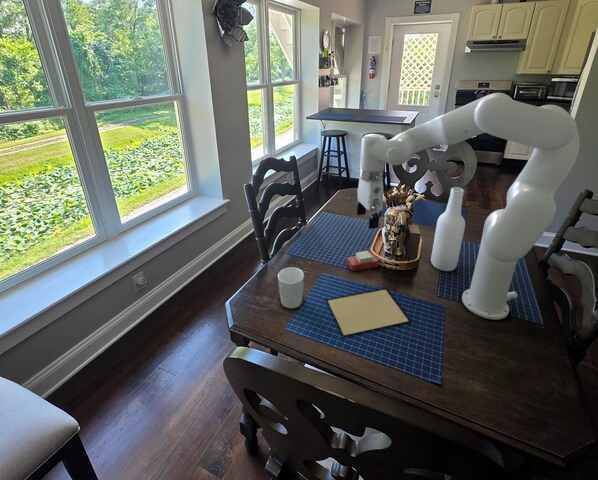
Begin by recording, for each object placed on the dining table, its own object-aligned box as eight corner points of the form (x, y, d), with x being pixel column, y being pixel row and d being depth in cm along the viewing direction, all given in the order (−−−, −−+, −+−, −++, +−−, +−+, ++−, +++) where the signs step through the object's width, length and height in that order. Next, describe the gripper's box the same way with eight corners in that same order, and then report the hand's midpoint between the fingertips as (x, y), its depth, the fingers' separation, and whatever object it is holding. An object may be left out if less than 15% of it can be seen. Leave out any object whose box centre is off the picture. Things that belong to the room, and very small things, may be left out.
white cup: (282, 312, 97) (281, 285, 93) (276, 295, 104) (275, 269, 100) (307, 307, 99) (306, 280, 95) (300, 290, 106) (299, 265, 102)
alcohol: (450, 257, 121) (465, 184, 110) (460, 272, 113) (477, 194, 102) (427, 257, 122) (439, 184, 110) (435, 272, 114) (449, 194, 102)
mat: (385, 289, 105) (385, 289, 105) (408, 321, 93) (408, 320, 93) (327, 301, 101) (327, 300, 101) (344, 335, 89) (344, 335, 88)
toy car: (371, 260, 121) (372, 249, 119) (377, 267, 116) (378, 256, 114) (346, 264, 119) (347, 253, 117) (351, 272, 114) (352, 261, 112)
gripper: (395, 182, 95) (389, 232, 102) (370, 164, 111) (366, 208, 117) (372, 184, 94) (367, 235, 100) (349, 166, 109) (347, 211, 116)
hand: (366, 220), depth 109 cm, fingers open, 9 cm apart
